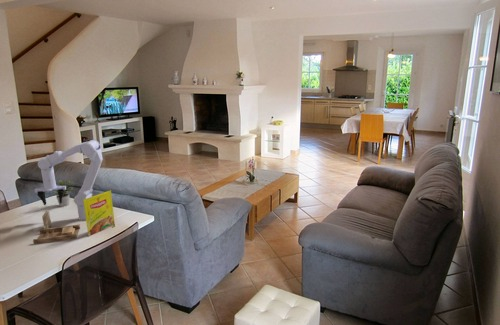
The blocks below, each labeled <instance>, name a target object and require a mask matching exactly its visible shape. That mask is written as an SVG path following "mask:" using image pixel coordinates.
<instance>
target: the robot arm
mask: <svg viewBox="0 0 500 325" xmlns="http://www.w3.org/2000/svg"><path fill="white" fill-rule="evenodd" d="M77 153H79V154H83V155H85V156H86V157H87V158H88V159H89V160H90V163H89V166H88V169H87V171H86V174H85V176H84V180H83V183H82V185H81V188H80V189H79V190H78V192H77V194H75V196H74V198H73V202H74V203H75V205H76V207H77V213H78V219H79V220H81V221H86V215H85V209H84V201H83V200H84V199H87V198H90V197H93V190H94V189H93V187H94V184H95V181H96V178H97V176H98V173H99V171H100V168H101V166H102V163H103V153H102V145H101V144H100V142H99V141H98V140H96V139H91V140H89V141H84V142H82V143H78V144H76V145H74V146H73V147H71V148H68V149H67V150H64V151H61V150H55V151H53V153H52V154H47V155H46V156H45V157H44V158H40V159H39V160H38V161H37V167H38V168H39V170H40V171H41V176H42V178H41V179H42V183H43V187H42V186H41V187H37V188H36V187H35V188H34V192H35V194H36V196H37V197H38V198H39V199H40V200H41V201H42V203H43V206H46V205H47V199H46V192H53V191H54V192H57V190H59V191H58V192H57V195H58V196H59V202H60V203H62V197H63V193H64V190H66V187H67V186H65V185H64V186H60V185H58V186H56V184H57V181H56V177H55V170H54V169H55V168H54V166H56V165H59V164H60V163H63V162H66V159H67V157H70V156H72V155H74V154H77Z"/></svg>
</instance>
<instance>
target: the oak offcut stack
mask: <svg viewBox="0 0 500 325" xmlns="http://www.w3.org/2000/svg"><path fill="white" fill-rule="evenodd" d="M70 226H71V225H70ZM74 232H75V228H73V226H71V227H65V228H63V230H62V234H61V236H63V235H71V234H74Z"/></svg>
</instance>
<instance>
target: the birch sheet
mask: <svg viewBox="0 0 500 325" xmlns="http://www.w3.org/2000/svg"><path fill="white" fill-rule="evenodd" d="M51 220H52V219H51V215H50V210H47V211H46V210H45V211H44V213H43V215H42V224H43V229H47V228H51V226H52V221H51Z"/></svg>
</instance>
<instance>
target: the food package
mask: <svg viewBox="0 0 500 325" xmlns="http://www.w3.org/2000/svg"><path fill="white" fill-rule="evenodd" d="M83 201H84V209H85V215H86V220H85V222H86V228H87V234H88V235H87V236H88V237H91V236H93V235H95V234H98V233H100V232H102V231H104V230H106V229H108V228H115V227H116V221H115V214H114V213H115V212H114V207H113V206H114V205H113V198H112V190H111V189H110V190H107V191H105V192H101V193H99V194H96V195H92V197H90V198H87V199H84V200H83Z"/></svg>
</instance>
